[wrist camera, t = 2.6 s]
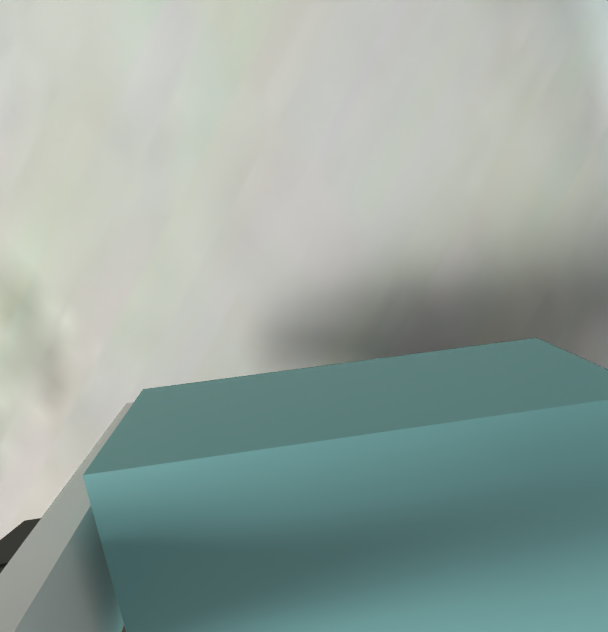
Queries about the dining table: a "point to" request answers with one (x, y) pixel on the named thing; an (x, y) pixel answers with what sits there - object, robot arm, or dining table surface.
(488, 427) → the lid
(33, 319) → the dining table surface
